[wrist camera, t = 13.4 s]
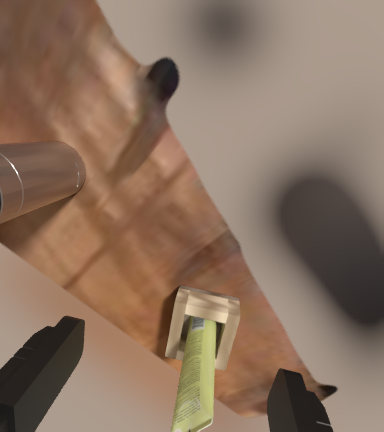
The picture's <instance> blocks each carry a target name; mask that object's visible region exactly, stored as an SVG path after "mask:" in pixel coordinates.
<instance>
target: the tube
mask: <svg viewBox="0 0 384 432" xmlns="http://www.w3.org/2000/svg"><path fill="white" fill-rule="evenodd" d="M215 347H216V321H212V320H208V319H204V318H199V317H195V316H191V318H190V323H189V329H188V334H187V340H186V346H185V352H184V357H183V363H182V369H181V374H180V380H179V386H178V392H177V398H176V404H175V409H174V416H173V421H172V427H171V432H199V431H201V430H202V429H204V428H206V427H207V426H209V425H211V424H212V421H213V396H214V370H215Z"/></svg>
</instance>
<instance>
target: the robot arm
mask: <svg viewBox="0 0 384 432" xmlns="http://www.w3.org/2000/svg"><path fill="white" fill-rule="evenodd" d="M84 181H85V167H84V163H83V161H82V159H81V157H80V156H79V154H78V153H77V152H76V151H75V150H74V149H73V148H72V147H70V146H69V145H67V144H65V143H62V142H57V141H56V142H30V143H9V144H0V224H1V223H4V222H6V221H9V220H11V219H13V218H16V217H18V216H21V215H23V214H26V213H28V212H31V211H33V210H36V209H38V208H41V207H43V206H46V205H48V204H51V203H53V202H56V201H59V200H61V199H64V198H66V197H68V196H71V195H73V194H75V193H77V192H78V191H79V190H80V189H81V187H82V186H83V183H84ZM84 328H85V321H84V320H82V319H78V318H74V317H70V316H64V317H63V318H62V319H61V320H60V322H58V324H57V325H56V326H55V327H50V326H47V327H45V328H43V329H42V330H40V331H38V332H37V333H35V334H34V335H33V336H32V337H31V338H30V339H29V340H28V341H27V342H26V343H25V344H24V345H23V347H22V348H20V349H19V350H18V351H17V352H16V353H15V354H14V357H12V358H11V359H10V360H9V361H8V362H7V363H6V364H5V365H4V366H3V367H2V368H1V369H0V432H35V430H36V429H37V427H38V425H39V424H40V422H41V421H42V419H43V418H44V416H45V415H46V413H47V411H48V409H49V408H50V407H51V405H52V404H53V402H54V400H55V399H56V397H57V396H58V394H59V393H60V391H61V389H62V388H63V386H64V385H65V383H66V382H67V380H68V378H69V377H70V375H71V374H72V372H73V371H74V369H75V367H76V366H77V364H78V362H79V360H80V358H81V355H82V352H83V346H84V345H83V344H84ZM267 414H268V421H269V427H270V432H333V429H332V427H331V426H330V421H329V418H328V415H327V413H326V410H325V407H324V406H323V404H322V403H321V402H320V400H319V399H318V397H317V396H316V394H315V393H314V392H311V391H307V390H306V387H305V383H304V380H303V377H302V375H301V374H300V373H297V372H293V371H289V370H285V369H281V368H280V369H279V370H278V372H277V375H276V377H275V380H274V383H273V385H272V388H271V390H270V393H269V396H268V401H267Z"/></svg>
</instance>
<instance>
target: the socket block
mask: <svg viewBox="0 0 384 432" xmlns="http://www.w3.org/2000/svg"><path fill="white" fill-rule="evenodd" d="M191 316H195V317H199V318H204V319H208V320H212V321H216V347H215V369H219V370H223V371H225V369H226V366H227V362H228V359H229V355H230V352H231V348H232V345H233V341H234V338H235V334H236V331H237V327H238V324H239V320H240V304H239V298H236V297H231V296H227V295H222V294H218V293H214V292H209V291H205V290H200V289H196V288H191V287H187V286H182V285H180V287H179V290H178V293H177V296H176V300H175V304H174V310H173V315H172V321H171V326H170V332H169V337H168V343H167V348H166V354H165V357H169V358H173V359H177V360H181V361H183V357H184V352H185V346H186V340H187V334H188V329H189V323H190V318H191Z"/></svg>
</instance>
